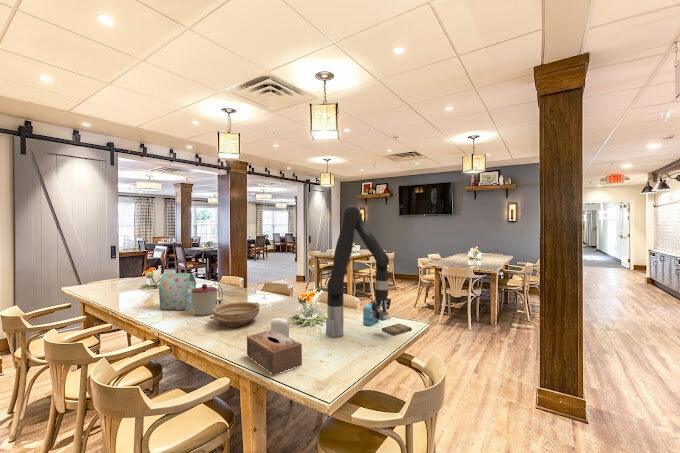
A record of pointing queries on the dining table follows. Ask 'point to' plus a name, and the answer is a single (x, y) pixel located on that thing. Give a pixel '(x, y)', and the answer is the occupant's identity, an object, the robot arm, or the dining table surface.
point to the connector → (382, 315)
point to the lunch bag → (176, 291)
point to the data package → (368, 315)
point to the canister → (204, 300)
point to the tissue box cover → (274, 351)
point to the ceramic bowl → (235, 313)
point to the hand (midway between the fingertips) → (380, 317)
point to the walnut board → (396, 329)
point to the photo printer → (280, 326)
